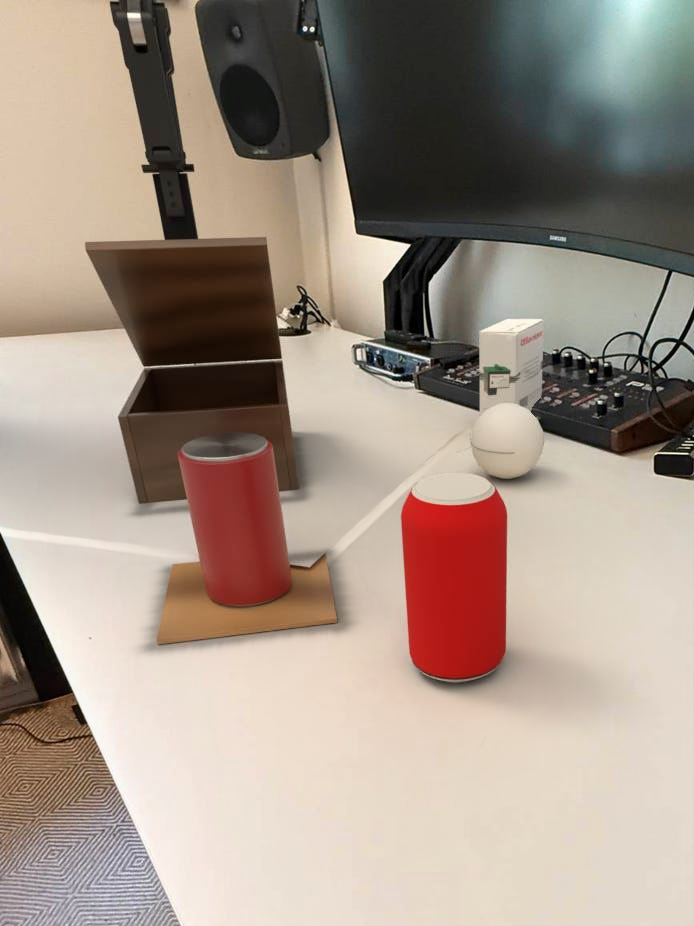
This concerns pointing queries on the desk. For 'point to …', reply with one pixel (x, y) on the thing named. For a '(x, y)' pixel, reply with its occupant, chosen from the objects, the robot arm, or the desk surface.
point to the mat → (206, 618)
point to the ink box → (511, 363)
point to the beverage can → (455, 576)
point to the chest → (203, 420)
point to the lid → (192, 298)
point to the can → (236, 517)
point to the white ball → (507, 440)
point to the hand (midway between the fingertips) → (185, 258)
